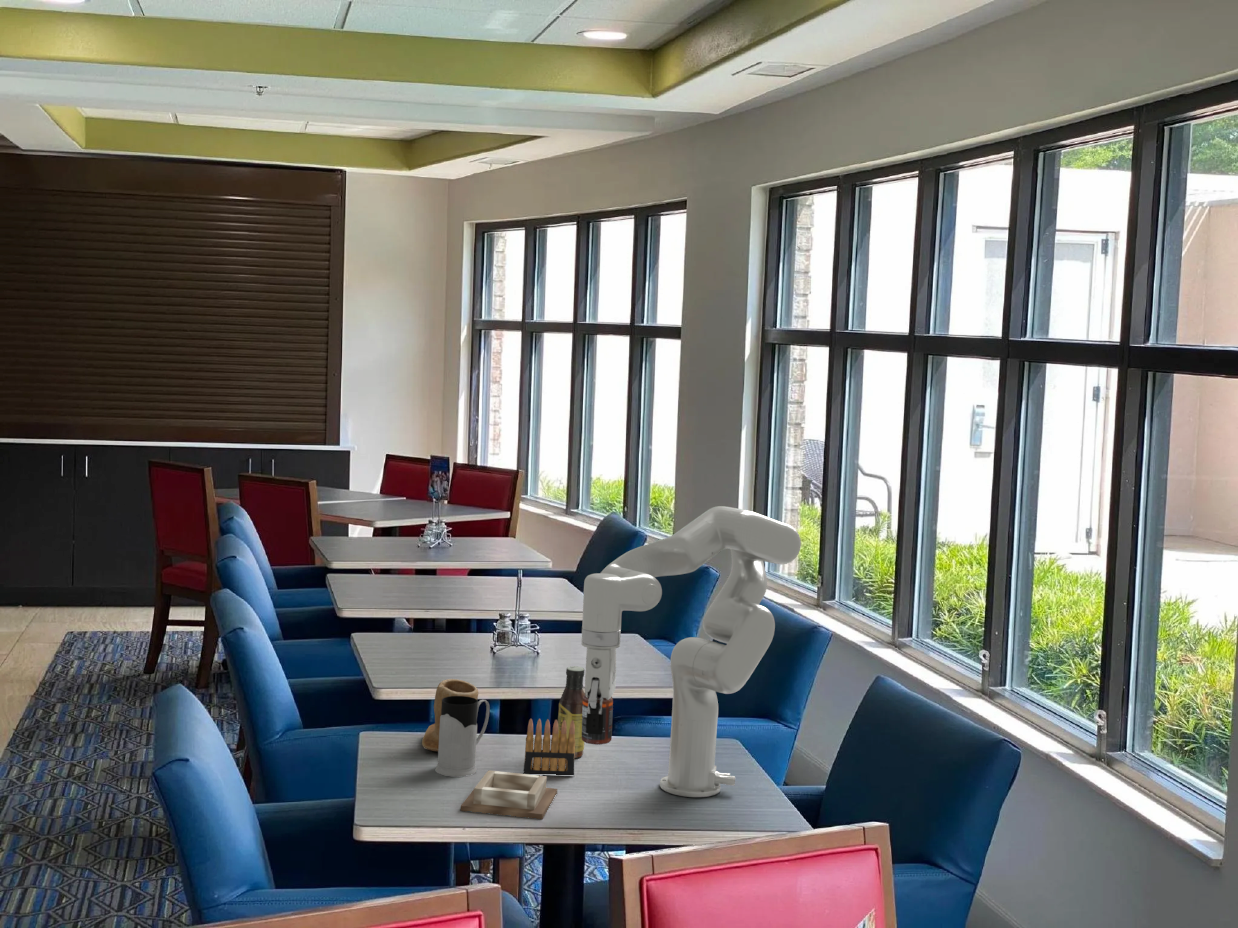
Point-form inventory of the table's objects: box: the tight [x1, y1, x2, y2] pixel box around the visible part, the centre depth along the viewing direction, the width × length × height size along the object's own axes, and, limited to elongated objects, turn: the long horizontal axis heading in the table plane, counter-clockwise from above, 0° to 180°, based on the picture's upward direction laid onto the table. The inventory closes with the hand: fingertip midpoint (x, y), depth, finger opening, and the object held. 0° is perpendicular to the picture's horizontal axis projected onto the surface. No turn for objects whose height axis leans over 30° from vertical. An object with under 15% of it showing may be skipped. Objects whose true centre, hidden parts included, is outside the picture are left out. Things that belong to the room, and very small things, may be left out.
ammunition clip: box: [523, 718, 575, 776], centre depth 283 cm, size 11×2×12 cm, turn 94°
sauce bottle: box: [557, 665, 586, 759], centre depth 297 cm, size 7×6×20 cm
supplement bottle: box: [582, 695, 614, 746], centre depth 261 cm, size 6×6×11 cm
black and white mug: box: [435, 696, 491, 778], centre depth 284 cm, size 9×14×15 cm, turn 146°
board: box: [460, 770, 558, 820], centre depth 264 cm, size 16×16×4 cm
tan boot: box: [421, 678, 479, 752], centre depth 299 cm, size 15×12×15 cm
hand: (596, 727), depth 261 cm, fingers closed on supplement bottle, 6 cm apart
